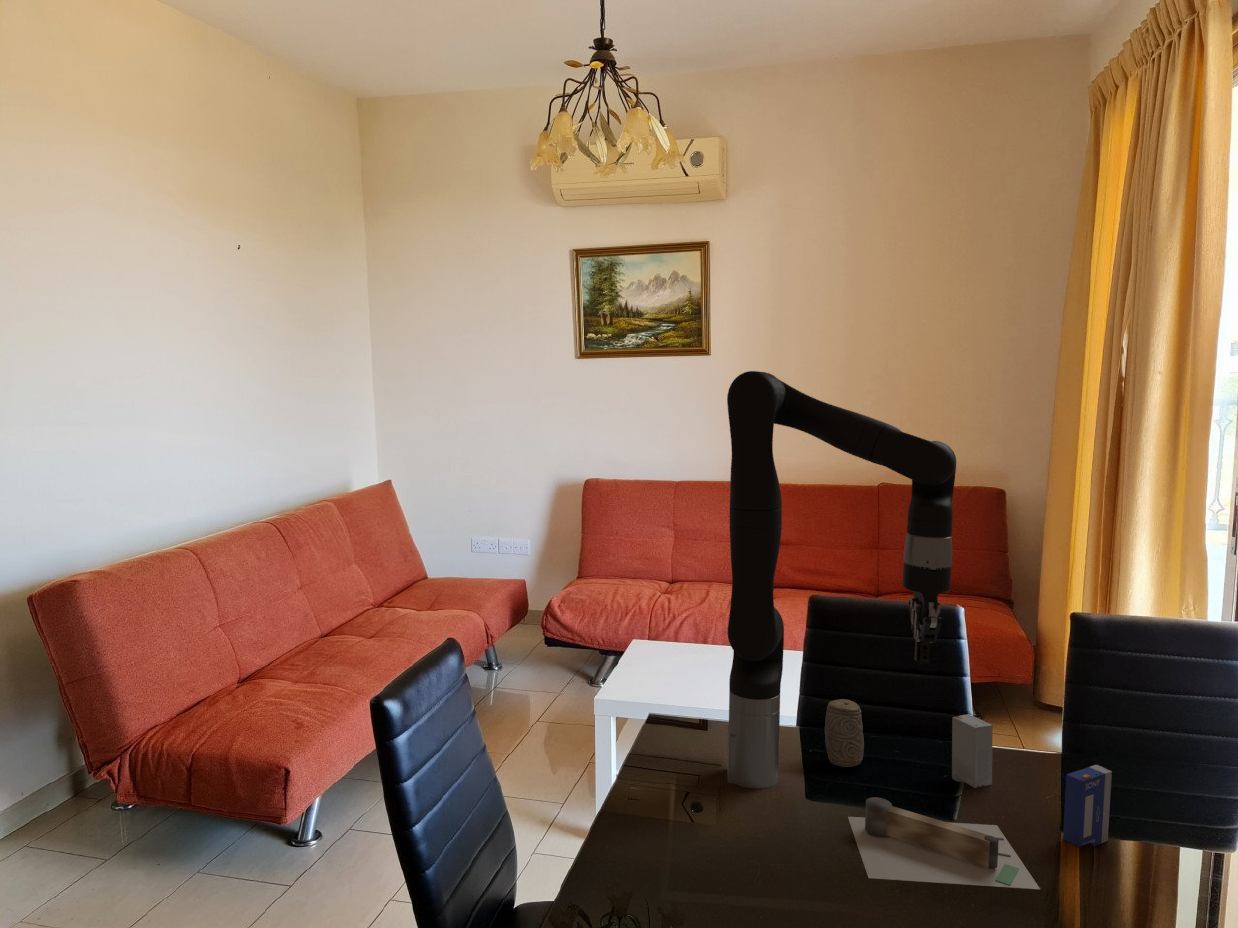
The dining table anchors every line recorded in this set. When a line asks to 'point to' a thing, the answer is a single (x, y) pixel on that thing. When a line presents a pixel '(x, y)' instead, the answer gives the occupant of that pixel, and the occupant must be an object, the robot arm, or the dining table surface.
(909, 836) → the pointer lever
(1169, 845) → the dining table surface
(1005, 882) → the dial plate
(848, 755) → the carving
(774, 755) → the robot arm
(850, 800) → the dining table surface
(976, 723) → the skincare box
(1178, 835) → the dining table surface
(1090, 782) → the walkman
